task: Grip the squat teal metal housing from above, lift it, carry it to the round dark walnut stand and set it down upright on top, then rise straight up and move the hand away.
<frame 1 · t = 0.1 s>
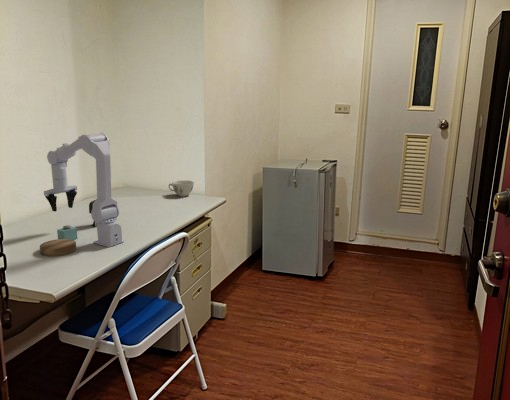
hand: (62, 209, 206), 10 cm above the table, tool pointing down, fingers open, 7 cm apart
housing: (67, 240, 197), on the table
teacup: (181, 195, 277), on the table
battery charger: (96, 225, 218), on the table
stand: (58, 250, 184), on the table
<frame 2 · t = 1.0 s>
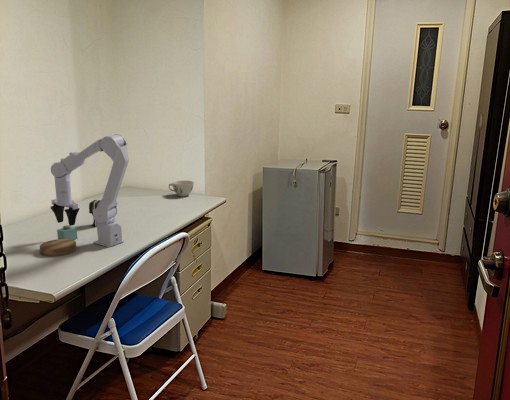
hand: (66, 223, 195), 7 cm above the table, tool pointing down, fingers open, 7 cm apart
nothing on the table moved.
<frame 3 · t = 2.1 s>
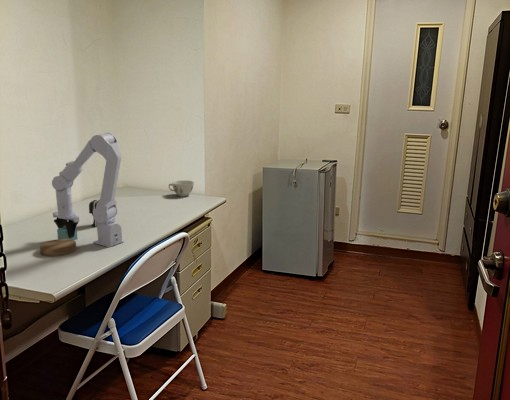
hand: (67, 236, 196), 2 cm above the table, tool pointing down, fingers closed on housing, 4 cm apart
housing: (67, 240, 197), on the table, touching gripper
everything else where it was.
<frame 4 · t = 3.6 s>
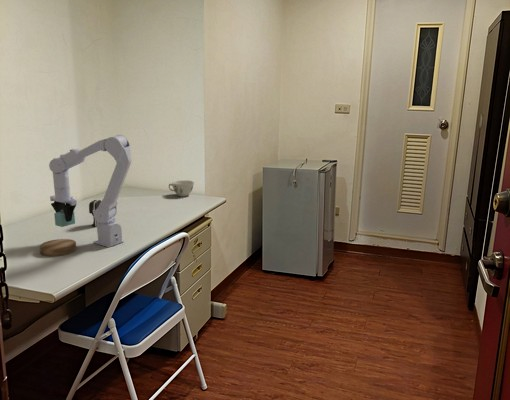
hand: (65, 220, 193), 9 cm above the table, tool pointing down, fingers closed on housing, 4 cm apart
housing: (65, 224, 194), point 7 cm above the table, touching gripper
everything else where it was.
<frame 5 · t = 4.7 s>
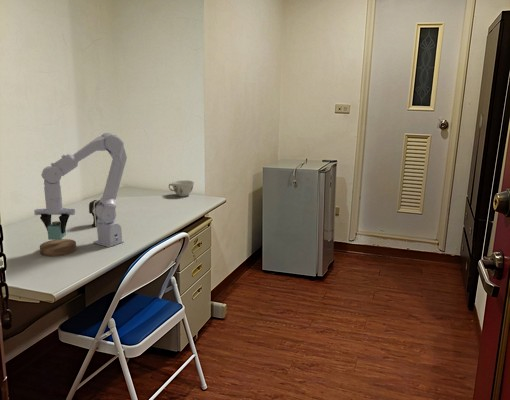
hand: (56, 232, 183), 7 cm above the table, tool pointing down, fingers closed on housing, 4 cm apart
housing: (57, 237, 183), point 5 cm above the table, touching gripper
everything else where it was.
when the fingers open (6 cm above the table, at t = 5.4 s): housing drops 1 cm, resting on stand.
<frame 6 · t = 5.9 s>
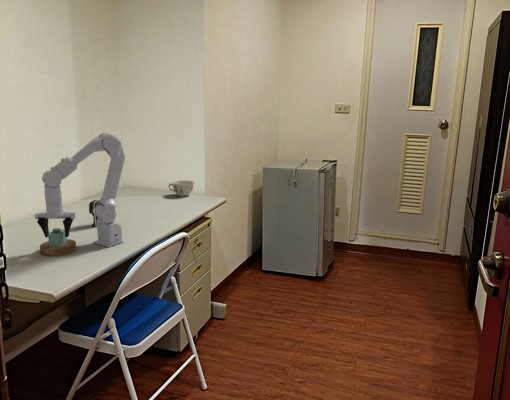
hand: (57, 236, 183), 6 cm above the table, tool pointing down, fingers open, 7 cm apart
housing: (58, 244, 184), point 2 cm above the table, touching stand
everything else where it was.
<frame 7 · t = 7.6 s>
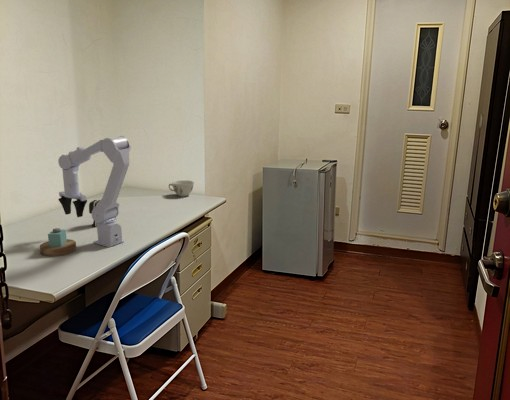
hand: (73, 215, 198), 10 cm above the table, tool pointing down, fingers open, 7 cm apart
nothing on the table moved.
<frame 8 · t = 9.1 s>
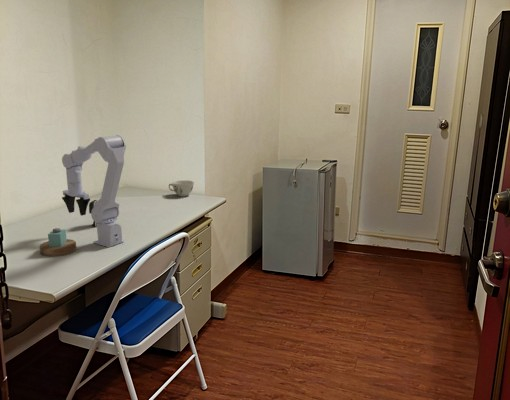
hand: (77, 213, 201), 9 cm above the table, tool pointing down, fingers open, 7 cm apart
nothing on the table moved.
at the end: housing inside the target area on the stand (0.1 cm from its centre), point 2.5 cm above the stand's base; housing tilted 0°; the gripper is holding nothing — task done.
